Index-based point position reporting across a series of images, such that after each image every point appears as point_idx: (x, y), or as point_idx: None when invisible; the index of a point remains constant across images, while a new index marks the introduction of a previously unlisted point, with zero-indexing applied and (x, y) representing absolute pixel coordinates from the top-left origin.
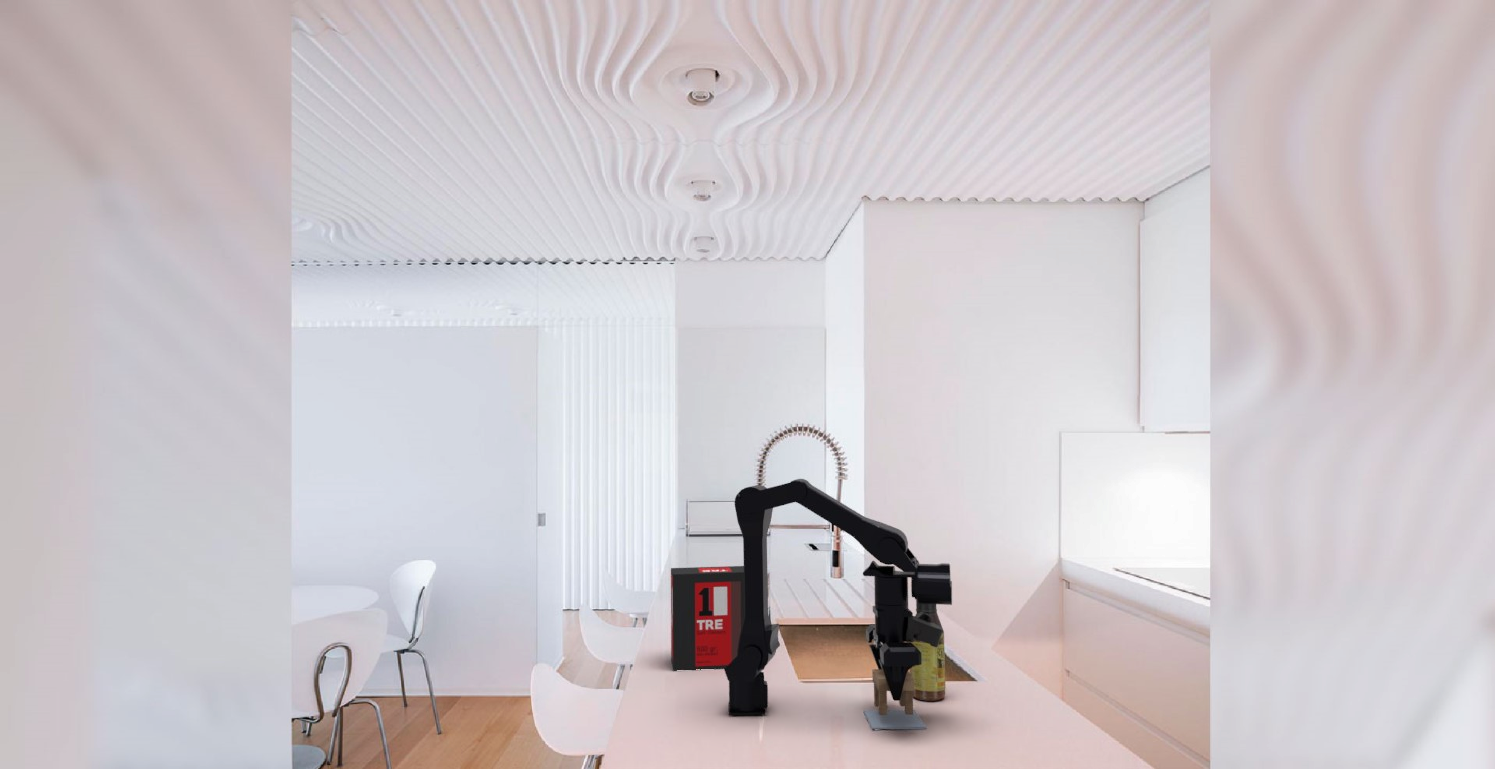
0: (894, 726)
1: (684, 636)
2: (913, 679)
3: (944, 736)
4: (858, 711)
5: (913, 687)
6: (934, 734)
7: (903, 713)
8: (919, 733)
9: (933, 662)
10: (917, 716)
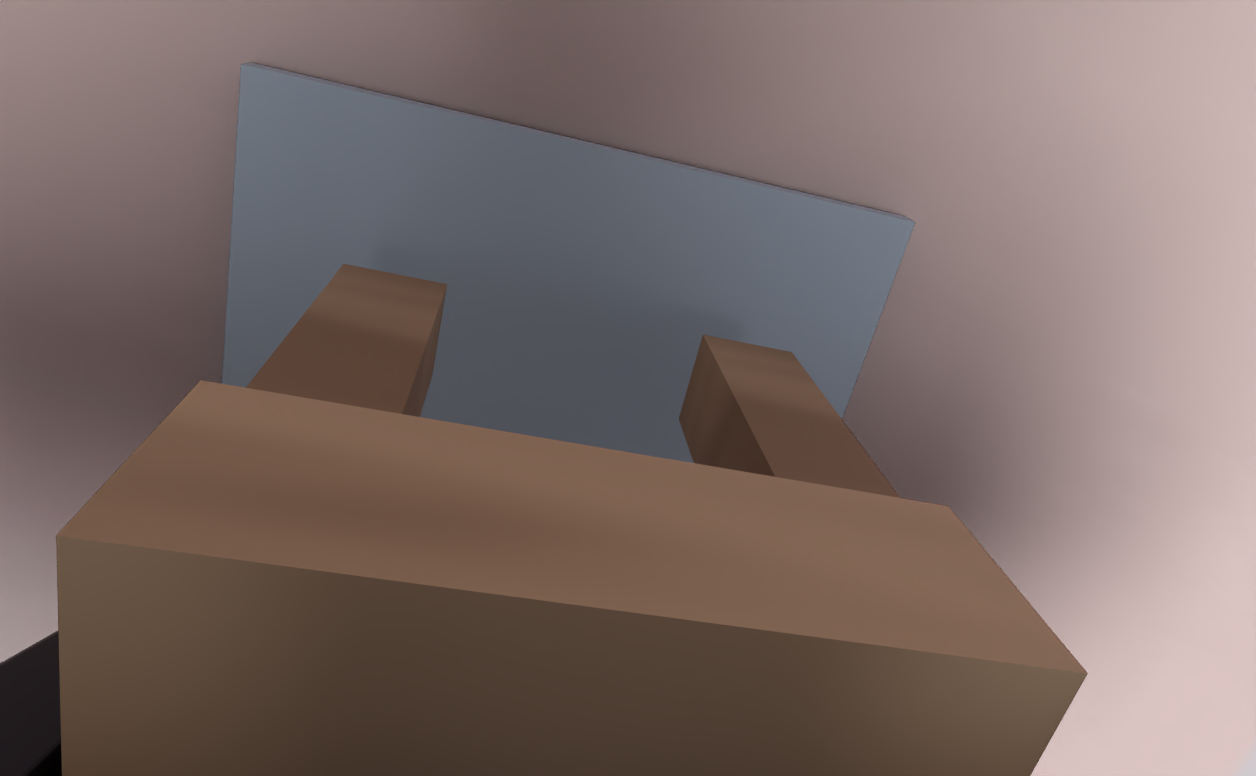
0: None
1: None
2: (1068, 667)
3: (1172, 115)
4: None
5: (974, 554)
6: (1068, 195)
7: None
8: (970, 334)
9: None
10: (543, 158)
